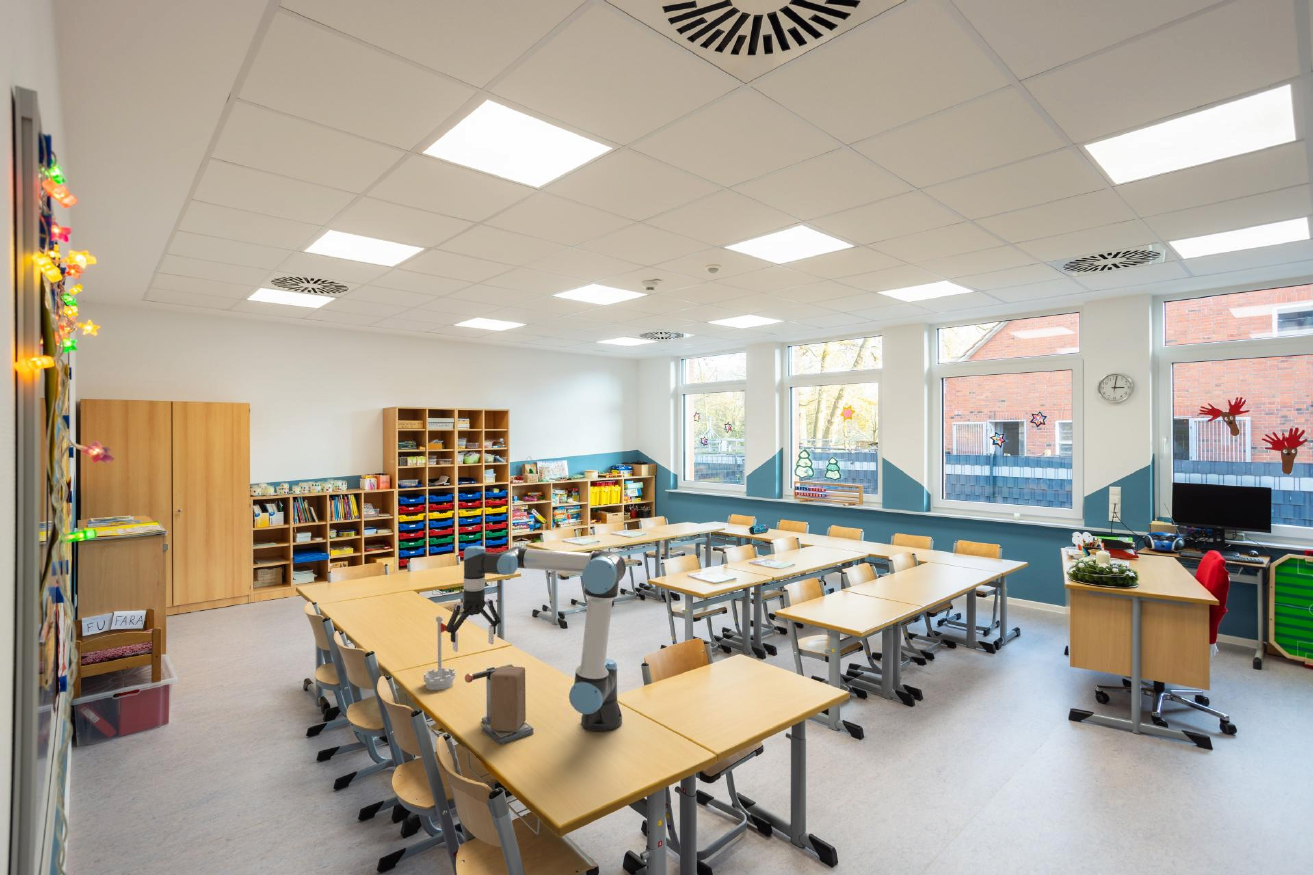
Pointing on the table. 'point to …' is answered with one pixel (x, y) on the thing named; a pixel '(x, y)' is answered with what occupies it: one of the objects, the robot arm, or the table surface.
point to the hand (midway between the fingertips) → (473, 646)
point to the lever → (479, 675)
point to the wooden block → (507, 698)
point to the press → (502, 736)
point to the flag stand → (439, 667)
